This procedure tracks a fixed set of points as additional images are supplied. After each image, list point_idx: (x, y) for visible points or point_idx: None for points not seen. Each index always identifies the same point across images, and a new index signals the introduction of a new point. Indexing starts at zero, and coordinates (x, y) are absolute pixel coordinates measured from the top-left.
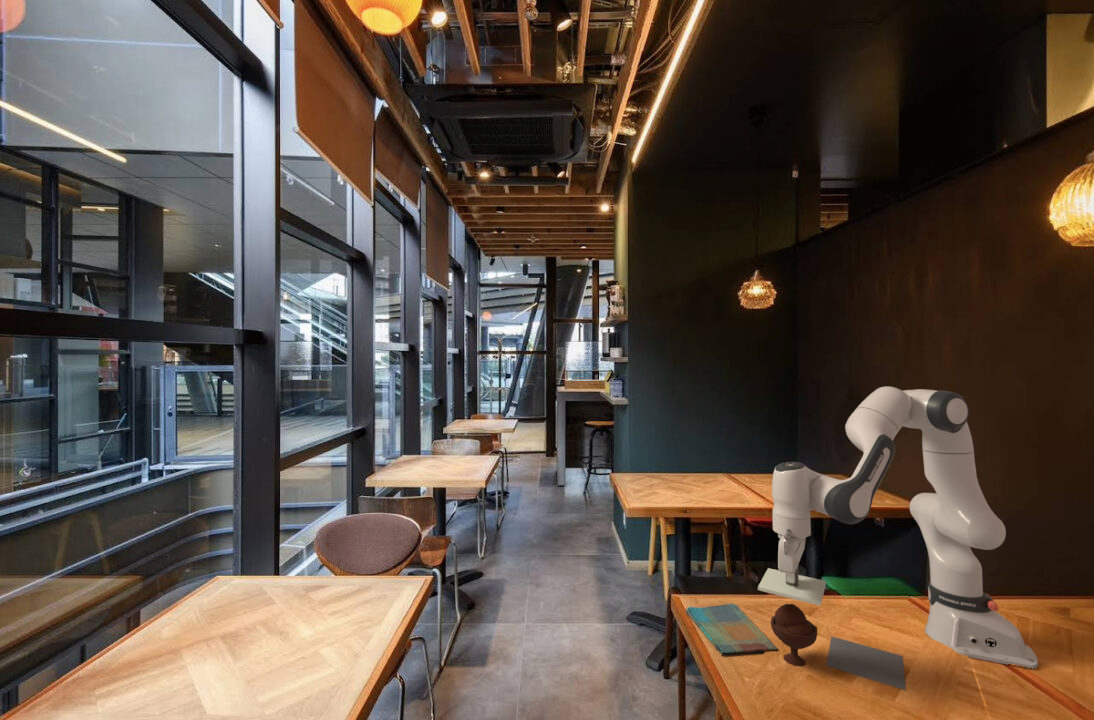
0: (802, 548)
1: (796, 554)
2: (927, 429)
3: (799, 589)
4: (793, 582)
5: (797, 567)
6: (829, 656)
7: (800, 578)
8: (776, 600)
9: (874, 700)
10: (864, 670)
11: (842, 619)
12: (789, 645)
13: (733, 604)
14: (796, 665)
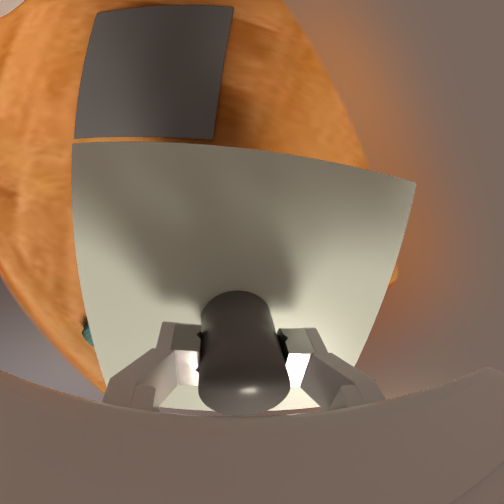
0: (11, 430)
1: (490, 467)
2: None
3: (300, 283)
4: (314, 331)
5: (166, 359)
6: (166, 134)
7: (123, 284)
8: (5, 260)
9: (293, 63)
10: (192, 66)
11: (2, 132)
12: None
13: (86, 338)
14: None
